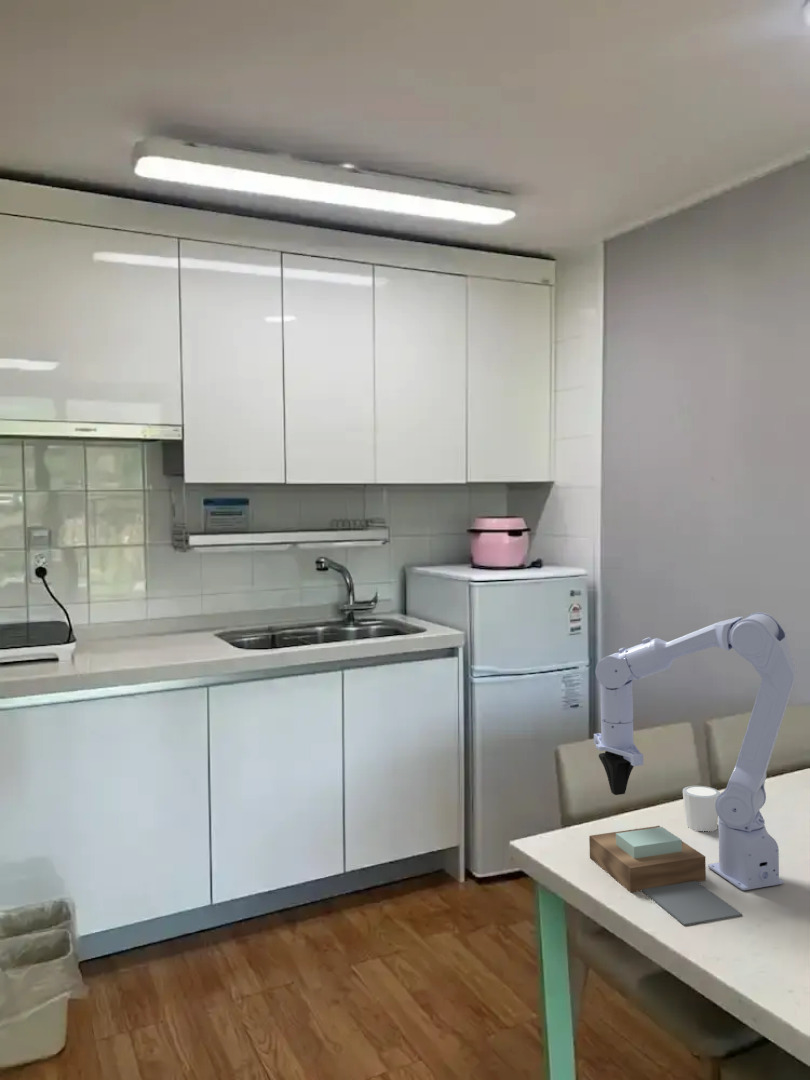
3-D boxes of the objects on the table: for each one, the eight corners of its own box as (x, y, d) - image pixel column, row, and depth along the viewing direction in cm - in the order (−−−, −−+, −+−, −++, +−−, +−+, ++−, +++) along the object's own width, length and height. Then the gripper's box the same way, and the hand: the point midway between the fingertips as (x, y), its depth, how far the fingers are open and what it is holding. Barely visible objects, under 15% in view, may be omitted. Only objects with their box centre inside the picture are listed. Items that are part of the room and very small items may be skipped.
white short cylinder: (714, 836, 156) (713, 799, 156) (678, 828, 160) (677, 792, 160) (725, 824, 162) (724, 789, 161) (689, 817, 166) (689, 782, 165)
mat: (742, 915, 126) (742, 913, 126) (684, 926, 124) (684, 924, 124) (695, 882, 138) (695, 880, 138) (642, 891, 135) (642, 889, 135)
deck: (705, 880, 138) (705, 856, 138) (630, 892, 135) (630, 868, 134) (659, 847, 152) (658, 825, 152) (589, 857, 148) (589, 835, 148)
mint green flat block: (681, 851, 140) (681, 839, 140) (634, 858, 138) (633, 846, 138) (662, 837, 146) (661, 826, 146) (616, 844, 144) (615, 833, 144)
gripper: (578, 712, 157) (580, 783, 157) (617, 732, 143) (618, 809, 143) (612, 709, 159) (613, 779, 159) (653, 728, 145) (654, 804, 145)
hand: (618, 793), depth 151 cm, fingers closed
